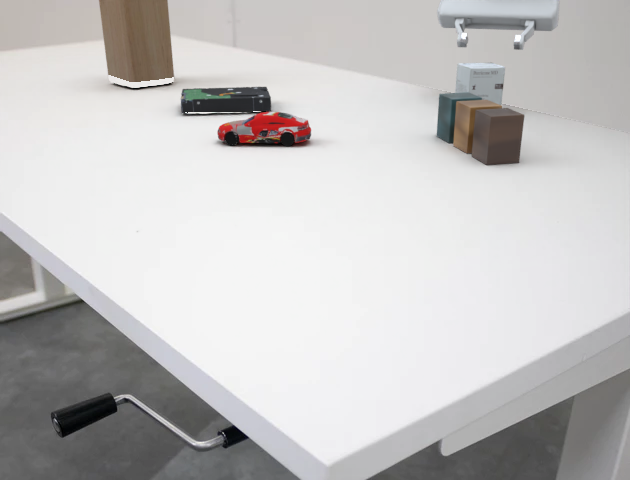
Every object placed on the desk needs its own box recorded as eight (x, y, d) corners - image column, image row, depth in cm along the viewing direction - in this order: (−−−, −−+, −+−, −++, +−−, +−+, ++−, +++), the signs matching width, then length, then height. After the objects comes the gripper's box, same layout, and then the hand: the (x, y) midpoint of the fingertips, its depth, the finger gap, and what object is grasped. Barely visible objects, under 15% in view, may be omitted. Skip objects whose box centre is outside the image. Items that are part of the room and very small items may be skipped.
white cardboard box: (466, 115, 122) (470, 67, 119) (453, 108, 128) (456, 62, 124) (501, 113, 123) (506, 66, 120) (486, 106, 129) (491, 61, 125)
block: (107, 84, 152) (93, -25, 143) (150, 78, 158) (140, -26, 149) (132, 90, 145) (120, -24, 137) (176, 84, 151) (167, -25, 143)
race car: (214, 146, 105) (211, 117, 103) (222, 137, 110) (220, 109, 108) (308, 147, 104) (308, 117, 102) (312, 138, 108) (312, 109, 107)
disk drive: (266, 102, 134) (182, 104, 132) (266, 86, 133) (181, 87, 131) (272, 113, 125) (181, 115, 123) (271, 96, 124) (180, 98, 122)
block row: (519, 162, 96) (524, 114, 93) (486, 165, 95) (491, 116, 92) (465, 134, 110) (468, 92, 107) (436, 136, 109) (439, 93, 107)
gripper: (444, -35, 131) (426, 31, 127) (566, -34, 124) (551, 35, 120) (448, -8, 136) (431, 55, 133) (565, -7, 129) (551, 61, 126)
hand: (489, 46), depth 126 cm, fingers open, 8 cm apart
